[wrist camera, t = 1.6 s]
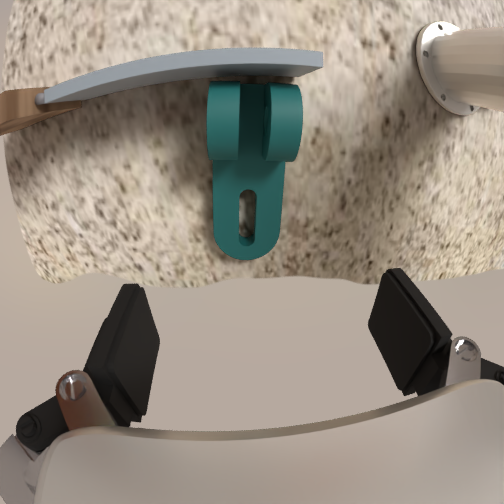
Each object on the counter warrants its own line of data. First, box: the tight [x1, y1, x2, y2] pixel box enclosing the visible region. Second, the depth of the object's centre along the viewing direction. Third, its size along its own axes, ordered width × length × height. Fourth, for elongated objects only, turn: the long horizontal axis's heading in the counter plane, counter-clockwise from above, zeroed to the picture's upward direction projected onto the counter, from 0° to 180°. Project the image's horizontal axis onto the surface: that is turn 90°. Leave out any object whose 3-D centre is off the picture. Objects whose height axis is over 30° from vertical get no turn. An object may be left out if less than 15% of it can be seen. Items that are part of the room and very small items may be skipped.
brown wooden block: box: [0, 87, 82, 136], centre depth 16 cm, size 10×2×12 cm, turn 91°
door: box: [35, 48, 323, 105], centre depth 18 cm, size 22×1×8 cm, turn 91°
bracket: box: [207, 81, 303, 260], centre depth 24 cm, size 18×7×8 cm, turn 178°
